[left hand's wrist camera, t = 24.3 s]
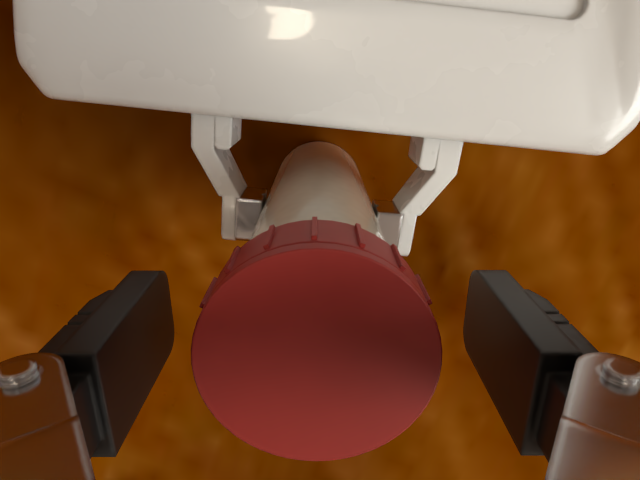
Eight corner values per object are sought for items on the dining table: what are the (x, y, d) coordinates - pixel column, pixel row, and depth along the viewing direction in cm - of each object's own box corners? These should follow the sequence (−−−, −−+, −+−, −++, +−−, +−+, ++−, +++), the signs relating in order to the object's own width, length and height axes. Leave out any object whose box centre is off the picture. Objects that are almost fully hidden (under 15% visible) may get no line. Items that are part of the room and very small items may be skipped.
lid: (167, 264, 10) (138, 301, 9) (383, 179, 10) (398, 202, 8) (262, 431, 12) (253, 490, 10) (452, 368, 11) (476, 421, 10)
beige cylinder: (297, 233, 25) (268, 443, 11) (263, 160, 23) (180, 293, 9) (371, 204, 24) (442, 385, 10) (341, 127, 23) (376, 216, 9)
